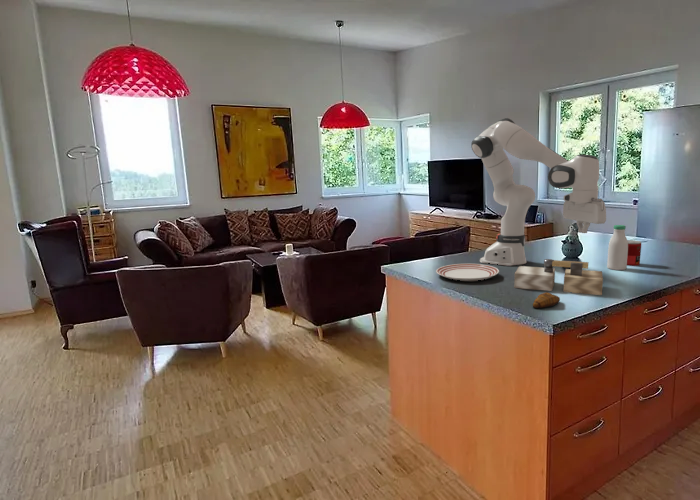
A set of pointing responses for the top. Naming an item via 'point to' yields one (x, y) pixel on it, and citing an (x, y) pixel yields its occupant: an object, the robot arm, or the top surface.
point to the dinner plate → (467, 272)
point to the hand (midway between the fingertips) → (582, 232)
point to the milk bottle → (618, 249)
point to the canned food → (633, 253)
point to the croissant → (545, 300)
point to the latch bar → (562, 263)
